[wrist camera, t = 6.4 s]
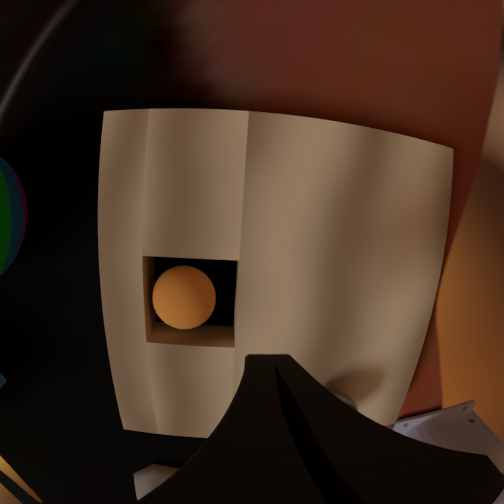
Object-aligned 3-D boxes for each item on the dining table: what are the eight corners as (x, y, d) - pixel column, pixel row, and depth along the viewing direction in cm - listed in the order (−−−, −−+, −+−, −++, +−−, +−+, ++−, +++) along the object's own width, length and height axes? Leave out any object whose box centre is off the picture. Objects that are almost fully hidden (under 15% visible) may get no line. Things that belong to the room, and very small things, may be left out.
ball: (230, 269, 15) (176, 280, 13) (227, 328, 16) (177, 347, 14) (190, 255, 17) (139, 263, 15) (189, 309, 18) (142, 322, 16)
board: (428, 150, 16) (453, 148, 14) (381, 403, 20) (394, 423, 18) (120, 120, 15) (104, 111, 12) (132, 405, 18) (123, 428, 16)
